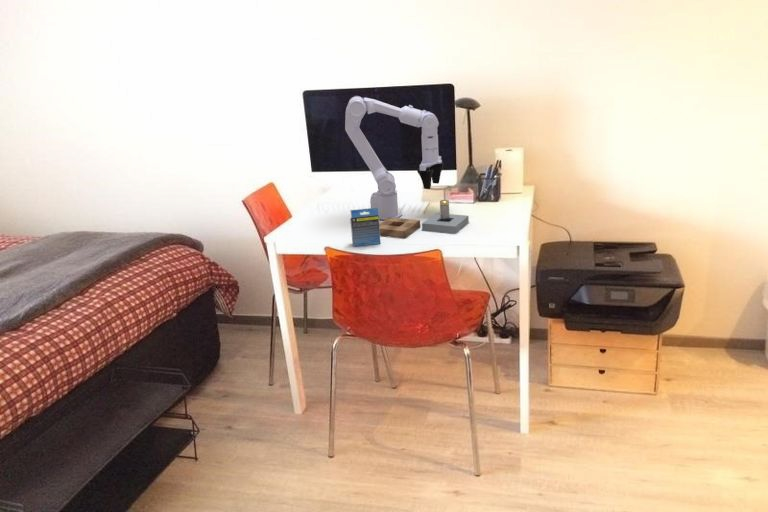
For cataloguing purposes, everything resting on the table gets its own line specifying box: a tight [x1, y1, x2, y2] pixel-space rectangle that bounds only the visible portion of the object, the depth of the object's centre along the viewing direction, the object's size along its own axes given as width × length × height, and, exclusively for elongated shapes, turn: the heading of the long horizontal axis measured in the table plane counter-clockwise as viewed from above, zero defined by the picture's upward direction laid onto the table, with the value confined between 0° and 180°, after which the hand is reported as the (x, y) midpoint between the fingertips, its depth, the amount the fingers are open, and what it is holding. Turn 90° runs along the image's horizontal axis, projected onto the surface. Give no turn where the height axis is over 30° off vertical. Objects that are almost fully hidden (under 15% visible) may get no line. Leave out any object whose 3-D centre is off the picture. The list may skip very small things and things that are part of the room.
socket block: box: [379, 217, 422, 239], centre depth 205 cm, size 12×12×2 cm
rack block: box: [421, 212, 470, 234], centre depth 206 cm, size 12×12×2 cm
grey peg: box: [439, 199, 450, 222], centre depth 205 cm, size 3×3×9 cm
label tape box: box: [349, 207, 381, 248], centre depth 194 cm, size 9×4×12 cm, turn 98°
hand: (431, 185), depth 217 cm, fingers open, 7 cm apart
